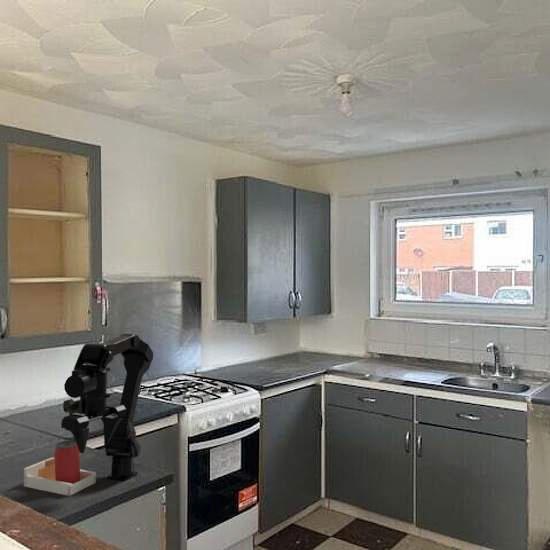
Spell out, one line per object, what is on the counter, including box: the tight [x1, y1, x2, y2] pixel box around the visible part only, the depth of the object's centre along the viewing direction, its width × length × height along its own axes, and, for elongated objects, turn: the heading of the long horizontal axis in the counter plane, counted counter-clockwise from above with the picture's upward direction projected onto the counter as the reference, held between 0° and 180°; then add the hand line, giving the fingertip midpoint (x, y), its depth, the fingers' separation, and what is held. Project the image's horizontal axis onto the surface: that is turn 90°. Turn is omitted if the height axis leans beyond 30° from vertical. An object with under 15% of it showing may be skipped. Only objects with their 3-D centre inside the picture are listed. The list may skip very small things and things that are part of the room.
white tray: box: [23, 457, 97, 497], centre depth 160 cm, size 10×16×5 cm, turn 68°
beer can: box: [53, 439, 81, 484], centre depth 159 cm, size 7×7×12 cm
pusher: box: [38, 457, 55, 480], centre depth 162 cm, size 8×1×6 cm, turn 158°
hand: (94, 448), depth 152 cm, fingers open, 9 cm apart
